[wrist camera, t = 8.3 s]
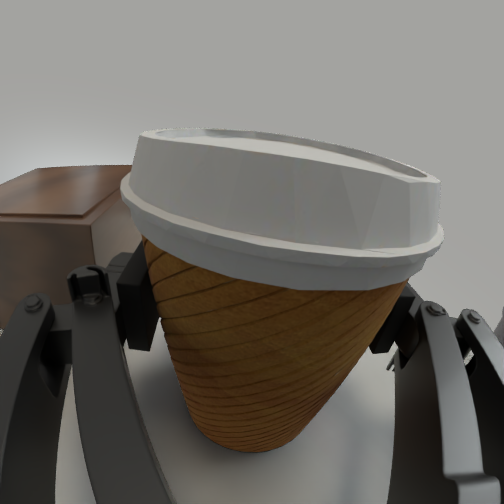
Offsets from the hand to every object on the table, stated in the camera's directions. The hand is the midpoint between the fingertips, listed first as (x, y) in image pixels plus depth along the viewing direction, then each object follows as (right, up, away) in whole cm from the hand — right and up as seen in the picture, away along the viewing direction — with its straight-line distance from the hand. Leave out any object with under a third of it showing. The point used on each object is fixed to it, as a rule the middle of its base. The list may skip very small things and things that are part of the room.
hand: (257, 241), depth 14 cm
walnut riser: (-15, -3, +5) cm, 17 cm away
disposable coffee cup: (0, -8, -1) cm, 8 cm away
